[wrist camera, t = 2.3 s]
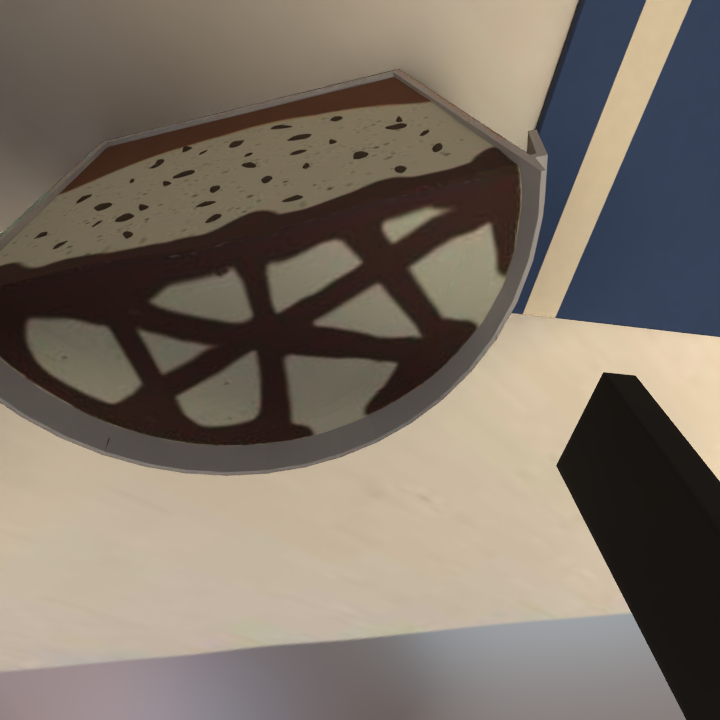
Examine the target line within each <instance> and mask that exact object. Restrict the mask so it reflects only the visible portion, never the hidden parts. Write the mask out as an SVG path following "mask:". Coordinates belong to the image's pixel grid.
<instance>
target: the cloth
mask: <svg viewBox="0 0 720 720" xmlns="http://www.w3.org/2000/svg"><path fill="white" fill-rule="evenodd" d="M536 130H537V132H538V134H539V136H540V139H541V141H542V143H543V145H544V147H545V150H546V152H547V154H548V159H547V174H546V189H545V203H544V210H543V218H542V223H541V227H540V232H539V236H538V241H537V245H536V250H535V254H534V259H533V263H532V265H531V268H530V270H529V273H528V276H527V278H526V281H525V283H524V286H523V289H522V291H521V294H520V296H519V299H518V302H517V304H516V305H515V307H514V309H513V311H512V312H511V313H518V314H524V315H533V316H541V317H550V318H561V319H569V320H578V321H587V322H595V323H604V324H613V325H621V326H630V327H639V328H647V329H656V330H665V331H673V332H682V333H691V334H699V335H708V336H717V337H720V0H580V2H579V5H578V8H577V10H576V13H575V16H574V19H573V22H572V25H571V28H570V31H569V34H568V37H567V40H566V43H565V46H564V49H563V52H562V55H561V57H560V60H559V63H558V66H557V69H556V72H555V75H554V78H553V81H552V84H551V87H550V90H549V93H548V96H547V99H546V102H545V104H544V107H543V110H542V113H541V116H540V119H539V122H538V125H537V128H536Z"/></svg>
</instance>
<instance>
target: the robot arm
mask: <svg viewBox="0 0 720 720" xmlns="http://www.w3.org/2000/svg"><path fill="white" fill-rule="evenodd" d="M556 466H557V468H558V470H559V472H560V474H561V476H562V478H563V480H564V481H565V483H566V485H567V487H568V489H569V491H570V493H571V495H572V497H573V499H574V501H575V503H576V505H577V507H578V509H579V511H580V513H581V515H582V517H583V519H584V521H585V523H586V524H587V526H588V528H589V530H590V532H591V534H592V536H593V538H594V540H595V542H596V544H597V546H598V548H599V550H600V552H601V554H602V556H603V558H604V560H605V562H606V564H607V566H608V567H609V569H610V571H611V573H612V575H613V577H614V579H615V581H616V583H617V585H618V587H619V589H620V591H621V593H622V595H623V597H624V599H625V601H626V603H627V605H628V607H629V609H630V610H631V612H632V614H633V616H634V618H635V620H636V622H637V624H638V626H639V628H640V630H641V632H642V634H643V636H644V638H645V640H646V642H647V644H648V645H649V648H650V649H651V652H652V653H653V655H654V657H655V659H656V661H657V663H658V665H659V667H660V669H661V671H662V673H663V675H664V677H665V679H666V681H667V683H668V685H669V687H670V689H671V691H672V693H673V694H674V696H675V698H676V700H677V702H678V704H679V706H680V708H681V710H682V712H683V714H684V716H685V718H686V720H720V481H719V480H718V479H717V477H716V476H715V475H714V474H713V472H712V471H711V470H710V469H709V467H708V466H707V465H706V464H705V462H704V461H703V460H702V459H701V457H700V456H699V455H698V454H697V452H696V451H695V450H694V449H693V447H692V446H691V445H690V444H689V442H688V441H687V440H686V439H685V437H684V436H683V435H682V434H681V432H680V431H679V430H678V429H677V427H676V426H675V425H674V423H673V422H672V421H671V420H670V418H669V417H668V416H667V415H666V413H665V412H664V411H663V410H662V408H661V407H660V406H659V405H658V403H657V402H656V401H655V400H654V398H653V397H652V396H651V395H650V393H649V392H648V391H647V390H646V388H645V387H644V386H643V385H642V383H641V382H640V381H639V380H638V378H637V377H636V376H633V375H624V374H614V373H604V372H603V374H602V376H601V378H600V380H599V382H598V384H597V386H596V388H595V390H594V392H593V394H592V396H591V398H590V400H589V402H588V404H587V406H586V408H585V410H584V412H583V414H582V416H581V418H580V420H579V422H578V424H577V426H576V428H575V430H574V432H573V434H572V436H571V438H570V440H569V442H568V444H567V446H566V448H565V450H564V452H563V454H562V456H561V457H560V459H559V461H558V463H557V465H556Z"/></svg>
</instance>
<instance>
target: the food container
mask: <svg viewBox="0 0 720 720" xmlns="http://www.w3.org/2000/svg"><path fill="white" fill-rule="evenodd" d="M547 159H548V154H547V152H546V150H545V147H544V145H543V143H542V141H541V139H540V136H539V134H538V132H537V130H531V131H528V147H527V153H526V152H525V151H523V150H521V149H520V148H518V147H517V146H515V145H514V144H512V143H511V142H509V141H508V140H506V139H505V138H503V137H502V136H500V135H499V134H497V133H496V132H494V131H493V130H491V129H490V128H488V127H486V126H485V125H483V124H482V123H480V122H479V121H477V120H476V119H474V118H473V117H471V116H470V115H468V114H467V113H465V112H464V111H462V110H461V109H459V108H458V107H456V106H455V105H453V104H451V103H450V102H448V101H447V100H445V99H444V98H442V97H441V96H439V95H438V94H436V93H435V92H433V91H432V90H430V89H429V88H427V87H426V86H424V85H423V84H421V83H419V82H418V81H416V80H415V79H413V78H412V77H410V76H409V75H407V74H406V73H404V72H403V71H401V70H400V69H397V70H393V71H389V72H385V73H381V74H377V75H373V76H369V77H364V78H360V79H356V80H352V81H348V82H344V83H340V84H336V85H332V86H328V87H324V88H320V89H315V90H311V91H307V92H303V93H299V94H295V95H291V96H287V97H283V98H279V99H275V100H270V101H266V102H262V103H258V104H254V105H250V106H246V107H242V108H238V109H234V110H230V111H226V112H221V113H217V114H213V115H209V116H205V117H201V118H197V119H193V120H189V121H185V122H181V123H176V124H172V125H168V126H164V127H160V128H156V129H152V130H148V131H144V132H140V133H136V134H132V135H127V136H123V137H119V138H115V139H111V140H107V141H103V142H101V143H100V144H99V145H98V146H97V147H96V148H95V149H94V150H93V151H92V152H90V153H89V154H88V155H87V156H86V157H85V158H84V159H83V160H82V161H81V162H80V163H79V164H77V165H76V166H75V167H74V168H73V169H72V170H71V171H70V172H69V173H68V174H67V175H65V176H64V177H63V178H62V179H61V180H60V181H59V182H58V183H57V184H56V185H55V186H53V187H52V188H51V189H50V190H49V191H48V192H47V193H46V194H45V195H44V196H43V197H41V198H40V199H39V200H38V201H37V202H36V203H35V204H34V205H33V206H32V207H31V208H30V209H28V210H27V211H26V212H25V213H24V214H23V215H22V216H21V217H20V218H19V219H18V220H16V221H15V222H14V223H13V224H12V225H11V226H10V227H9V228H8V229H7V230H6V231H4V232H3V233H2V234H1V235H0V403H2V404H3V405H5V406H6V407H8V408H9V409H10V410H12V411H13V412H15V413H16V414H18V415H19V416H21V417H22V418H24V419H26V420H28V421H30V422H32V423H34V424H36V425H37V426H39V427H41V428H43V429H45V430H47V431H49V432H51V433H52V434H54V435H56V436H58V437H60V438H62V439H64V440H67V441H69V442H72V443H74V444H77V445H79V446H82V447H84V448H87V449H89V450H92V451H94V452H97V453H100V454H102V455H105V456H109V457H112V458H116V459H120V460H123V461H127V462H130V463H134V464H138V465H141V466H145V467H151V468H157V469H163V470H169V471H175V472H181V473H190V474H208V475H225V476H228V475H247V474H266V473H272V472H279V471H285V470H291V469H297V468H303V467H307V466H311V465H314V464H318V463H321V462H325V461H329V460H332V459H336V458H339V457H343V456H345V455H347V454H350V453H352V452H355V451H357V450H359V449H362V448H364V447H367V446H369V445H371V444H374V443H376V442H379V441H380V440H382V439H384V438H386V437H387V436H389V435H391V434H393V433H394V432H396V431H398V430H400V429H401V428H403V427H405V426H407V425H409V424H410V423H412V422H413V421H415V420H416V419H417V418H419V417H420V416H421V415H423V414H424V413H425V412H427V411H428V410H429V409H431V408H432V407H433V406H435V405H436V404H437V403H439V402H440V401H441V400H443V399H444V398H445V397H446V396H447V395H448V394H449V393H450V392H451V391H452V390H453V389H454V388H455V387H456V386H457V385H458V384H459V383H460V382H461V381H462V380H463V379H464V378H465V377H466V376H467V375H468V374H469V373H470V372H471V371H472V370H473V369H474V367H475V366H476V365H477V364H478V362H479V361H480V360H481V358H482V357H483V356H484V355H485V353H486V352H487V351H488V349H489V348H490V347H491V346H492V344H493V343H494V342H495V340H496V339H497V337H498V335H499V334H500V332H501V330H502V328H503V327H504V325H505V323H506V321H507V320H508V318H509V316H510V314H511V312H512V311H513V309H514V307H515V305H516V304H517V302H518V299H519V296H520V294H521V291H522V289H523V286H524V283H525V281H526V278H527V276H528V273H529V270H530V268H531V265H532V263H533V259H534V254H535V250H536V245H537V241H538V236H539V232H540V227H541V223H542V218H543V210H544V203H545V189H546V174H547Z"/></svg>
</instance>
